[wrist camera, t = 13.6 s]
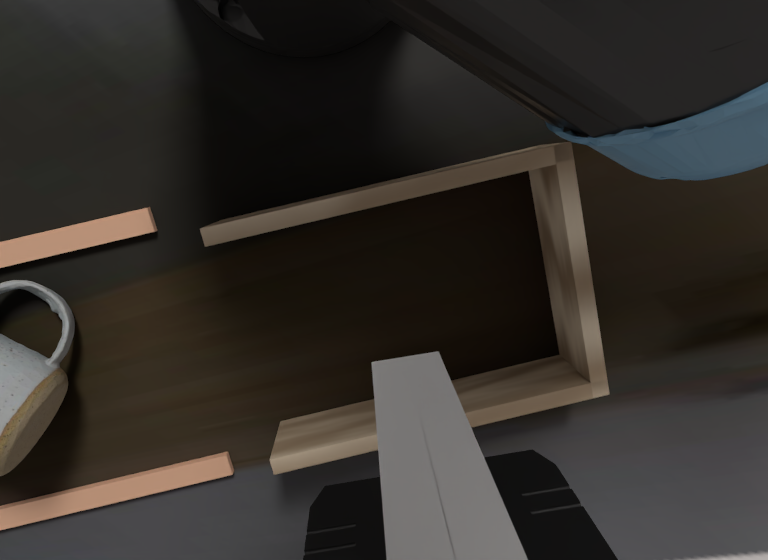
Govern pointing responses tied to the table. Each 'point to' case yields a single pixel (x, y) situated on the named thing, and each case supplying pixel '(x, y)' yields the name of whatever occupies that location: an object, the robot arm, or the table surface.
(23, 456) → the ceramic mug
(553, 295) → the frame
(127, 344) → the table surface
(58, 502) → the terracotta bay
